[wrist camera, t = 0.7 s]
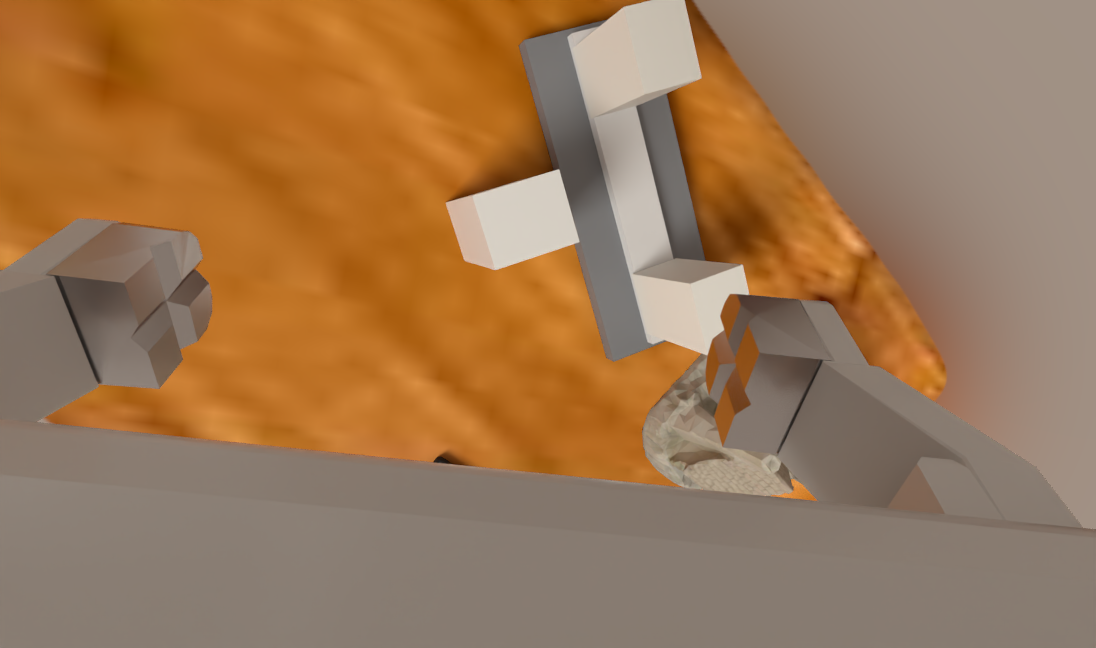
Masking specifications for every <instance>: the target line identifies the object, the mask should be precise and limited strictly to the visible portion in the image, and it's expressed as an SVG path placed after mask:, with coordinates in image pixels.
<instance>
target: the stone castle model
mask: <svg viewBox="0 0 1096 648" xmlns="http://www.w3.org/2000/svg"><path fill="white" fill-rule="evenodd" d="M706 363H707V355H705V354H701V355H700V356H699V357H698V359H697V360H696V361H695V362H694V363H693V364H692V365H691V366H690V368H689V369H688V370H687V371H685V373H684V374H683V375H682V376H681V378H679V379H678V380H677V381H676V382H675V383H674V384H673V385H672V386H671V388H670V389H669V390H668V391H667V392H666V393H665V394H664V395H663V396H662V397H661V398H660V400H659V401H658V402H657V403H656V404H655V405H654V406H653V407H652V408H651V410H650V412H649V413H648V415H647V418H646V421H645V424H644V427H643V431H642V434H643V447H644V449H645V455H646V457H647V458H648V459H649V461H650V462H651V463H652V465H653V466H654V467H655V468H656V470H657V471H659V472H660V473H661V474H663V475H664V476H665V477H667V478H668V479H670V480H671V481H672V482H674V483H676V484H678V485H680V486H682V487H684V488H692V489H703V490H712V491H721V492H731V493H741V494H751V495H761V496H771V495H781V494H784V493H788V494H789V493H791V492H792V491H793V488H794V487H793V486H792V483H791V479H795V480H797V481H798V482H800V481H799V480H798V479H797V478H796V477H795V476H794V474H793V473H792V472H791V471H790V470H789V469H788V468H787V467H786V466H785V465H784V464H783V463H782V461H781V460H780V459H779V458H778V457H777V456H778V455H777V454H769V453H762V452H754V451H746V450H739V449H731V448H723V447H722V443H721V440H720V436H719V432H718V429H717V425H716V421H715V417H714V415H715V412H716V409H717V406H718V404H717V403H716V402H715V401H714V400H713V399H712V398H711V397H710V396H709V394H708V390H707V386H706V373H705V372H706ZM800 483H801V482H800ZM801 484H802V483H801Z"/></svg>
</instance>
